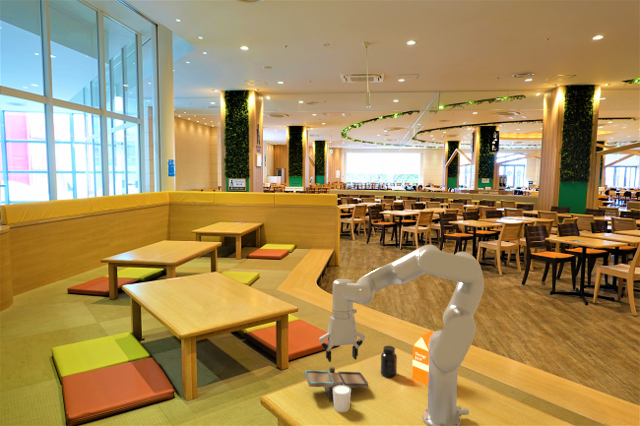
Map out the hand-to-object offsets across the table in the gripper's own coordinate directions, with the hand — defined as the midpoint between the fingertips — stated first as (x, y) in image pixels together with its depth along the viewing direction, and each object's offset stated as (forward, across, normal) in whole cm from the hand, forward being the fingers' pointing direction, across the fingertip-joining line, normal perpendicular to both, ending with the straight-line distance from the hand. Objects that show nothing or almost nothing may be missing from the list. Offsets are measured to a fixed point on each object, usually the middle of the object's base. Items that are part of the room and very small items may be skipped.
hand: (341, 359), depth 141 cm
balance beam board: (+14, -1, -12) cm, 18 cm away
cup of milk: (+19, 0, 0) cm, 19 cm away
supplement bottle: (+19, -27, -20) cm, 38 cm away
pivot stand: (+18, -1, -12) cm, 22 cm away
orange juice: (+18, -41, -13) cm, 47 cm away
